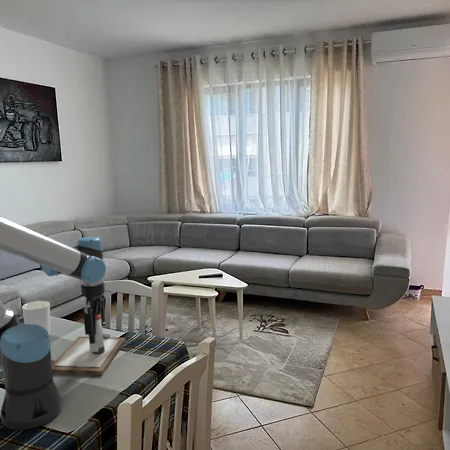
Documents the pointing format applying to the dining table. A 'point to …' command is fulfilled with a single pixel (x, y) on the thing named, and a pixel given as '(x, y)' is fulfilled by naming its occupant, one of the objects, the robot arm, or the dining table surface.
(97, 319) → the marker
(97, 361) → the clipboard
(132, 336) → the dining table surface
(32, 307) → the candle holder
